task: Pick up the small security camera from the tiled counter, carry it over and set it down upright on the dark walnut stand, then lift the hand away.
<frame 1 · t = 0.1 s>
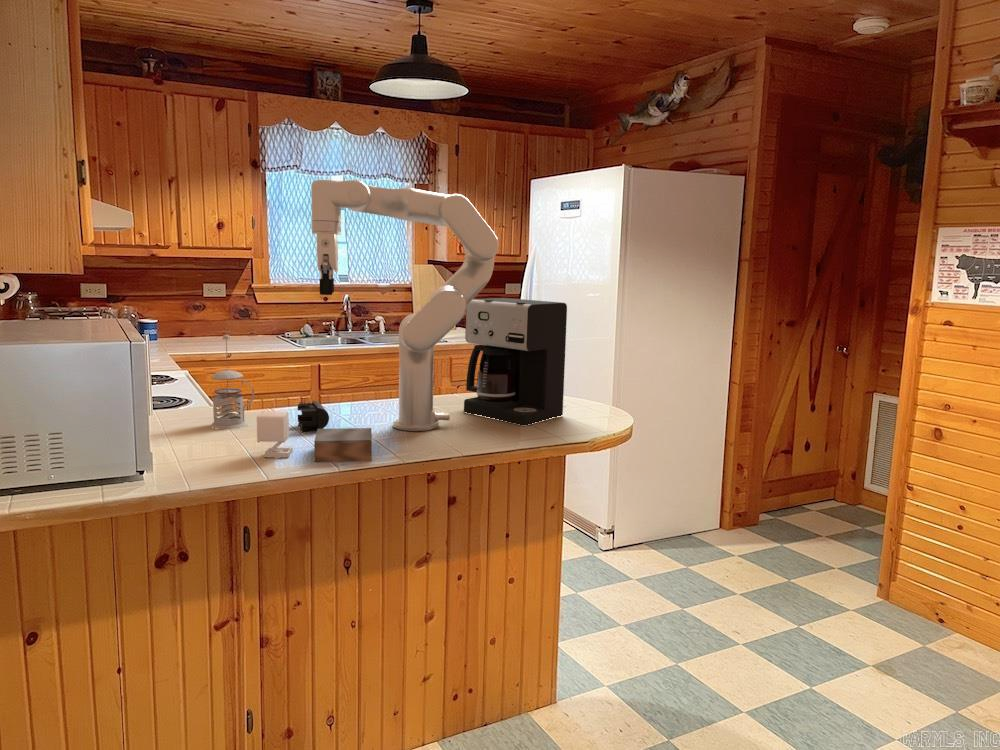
hand: (327, 293, 200), 37 cm above the table, tool pointing down, fingers open, 9 cm apart
security camera: (275, 455, 178), on the table
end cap: (313, 429, 206), on the table
coffee maker: (507, 414, 230), on the table
french press: (232, 425, 207), on the table
walnut stand: (344, 454, 180), on the table
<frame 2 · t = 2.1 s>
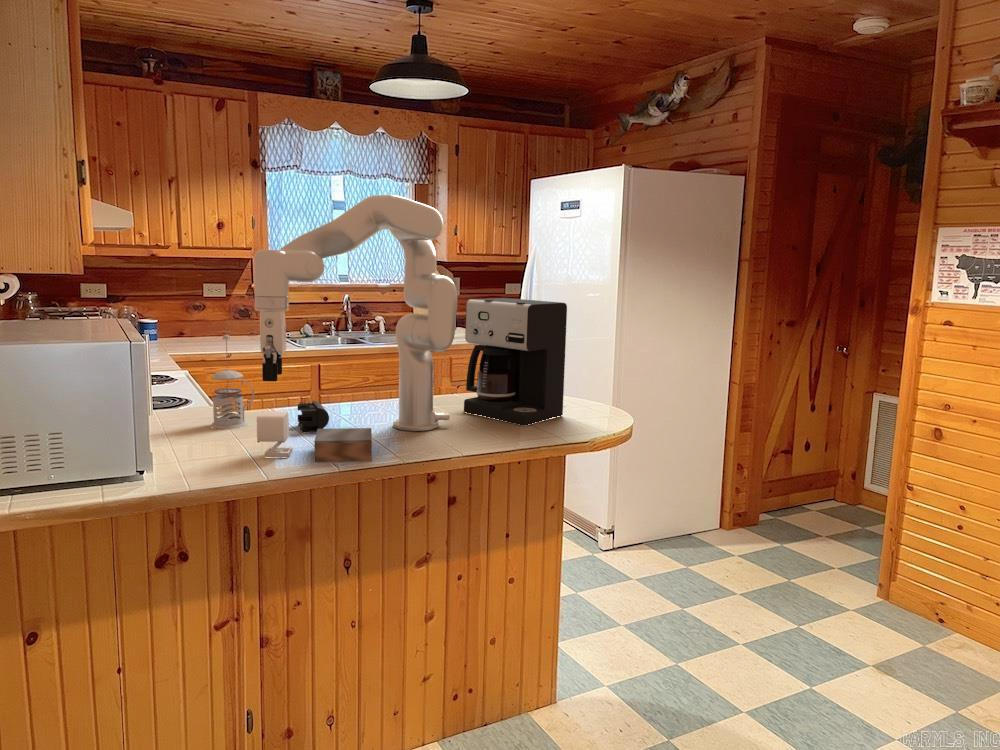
hand: (272, 377, 175), 19 cm above the table, tool pointing down, fingers open, 9 cm apart
nothing on the table moved.
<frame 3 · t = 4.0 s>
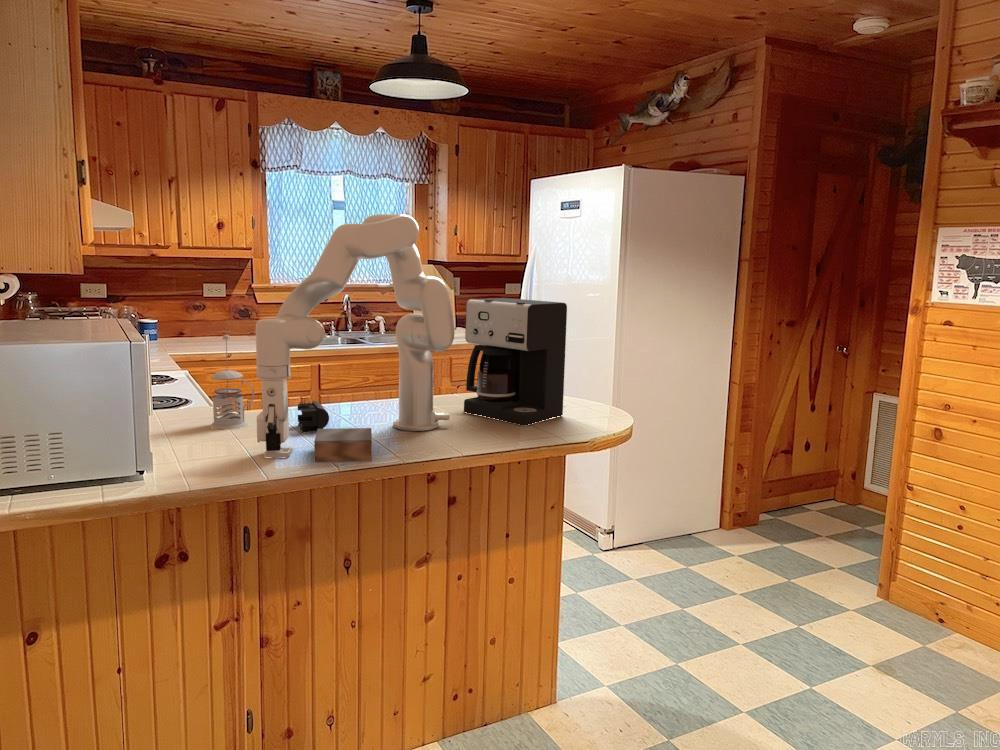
hand: (275, 445, 178), 2 cm above the table, tool pointing down, fingers closed on security camera, 6 cm apart
security camera: (275, 455, 178), on the table, touching gripper
everything else where it was.
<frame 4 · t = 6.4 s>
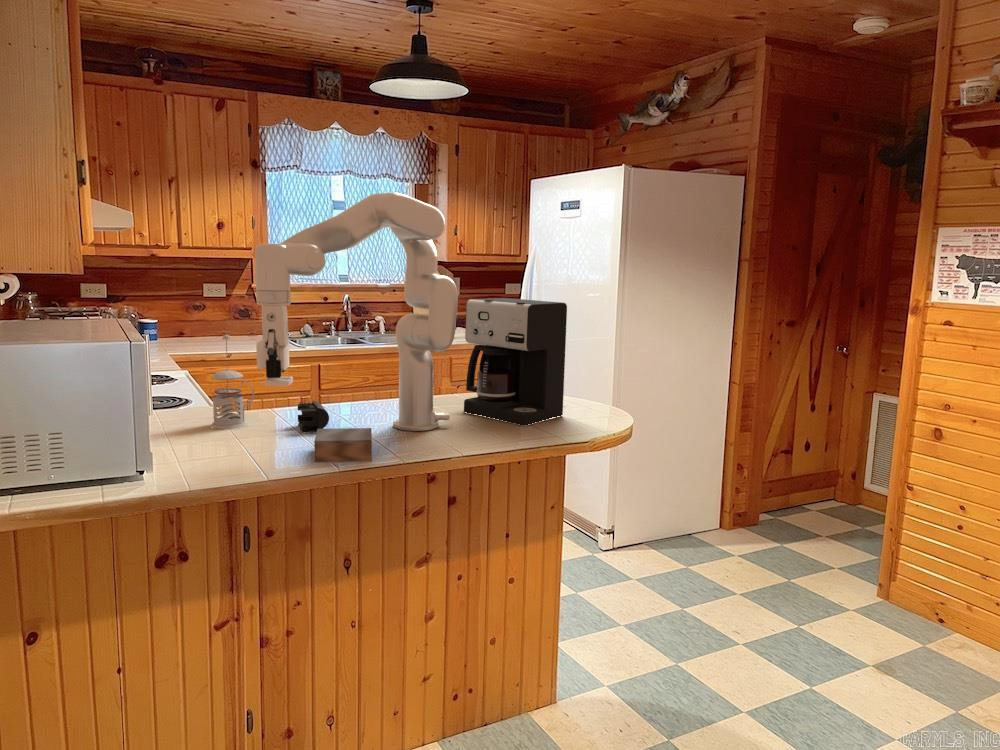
hand: (275, 374, 175), 19 cm above the table, tool pointing down, fingers closed on security camera, 6 cm apart
security camera: (275, 384, 176), point 17 cm above the table, touching gripper
everything else where it was.
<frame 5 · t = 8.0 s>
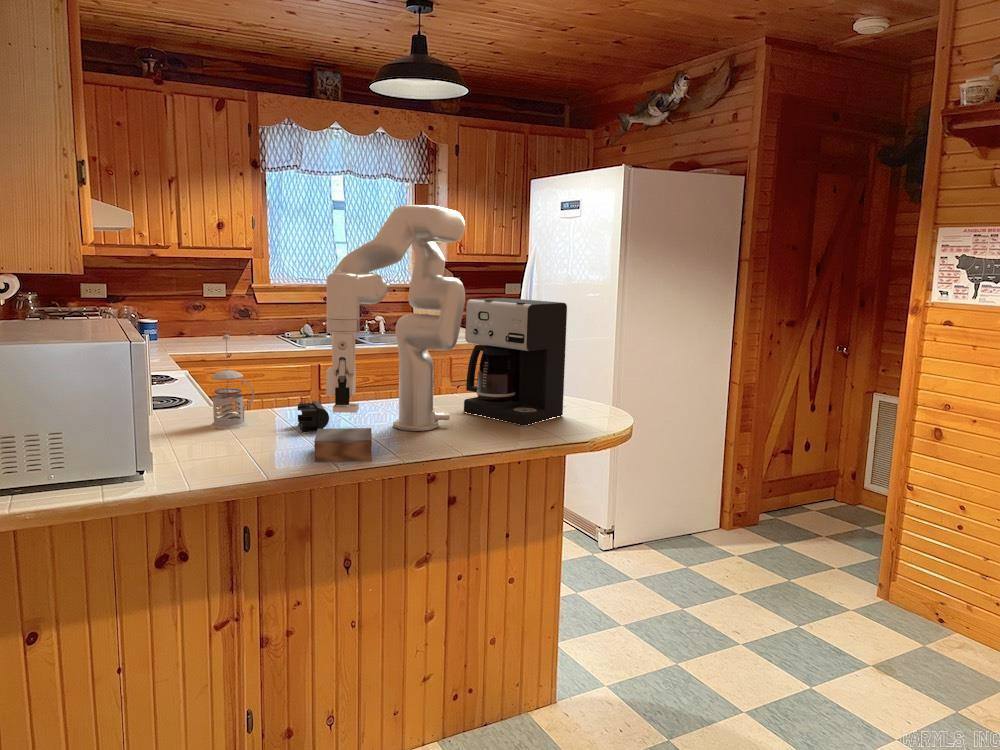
hand: (342, 401, 178), 13 cm above the table, tool pointing down, fingers closed on security camera, 6 cm apart
security camera: (342, 411, 178), point 11 cm above the table, touching gripper
everything else where it was.
when the fingers open (9 cm above the table, at t = 9.2 s): security camera drops 1 cm, resting on walnut stand.
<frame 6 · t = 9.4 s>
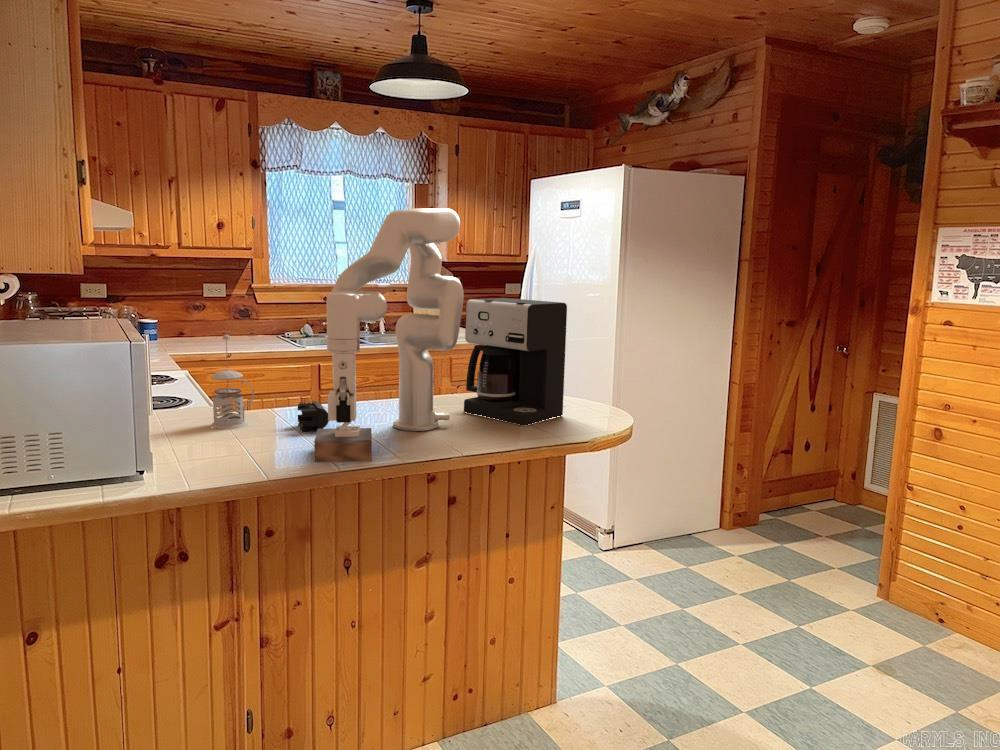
hand: (343, 417, 179), 9 cm above the table, tool pointing down, fingers open, 8 cm apart
security camera: (344, 434, 180), point 5 cm above the table, touching walnut stand
everything else where it was.
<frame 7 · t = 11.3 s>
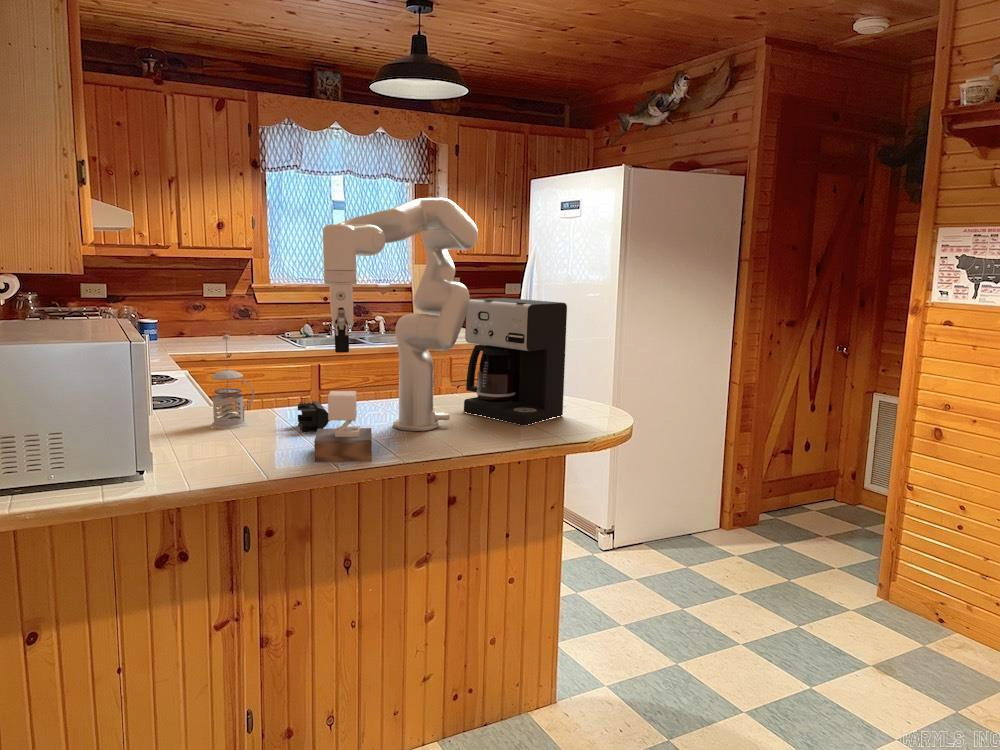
hand: (342, 349, 181), 25 cm above the table, tool pointing down, fingers open, 9 cm apart
nothing on the table moved.
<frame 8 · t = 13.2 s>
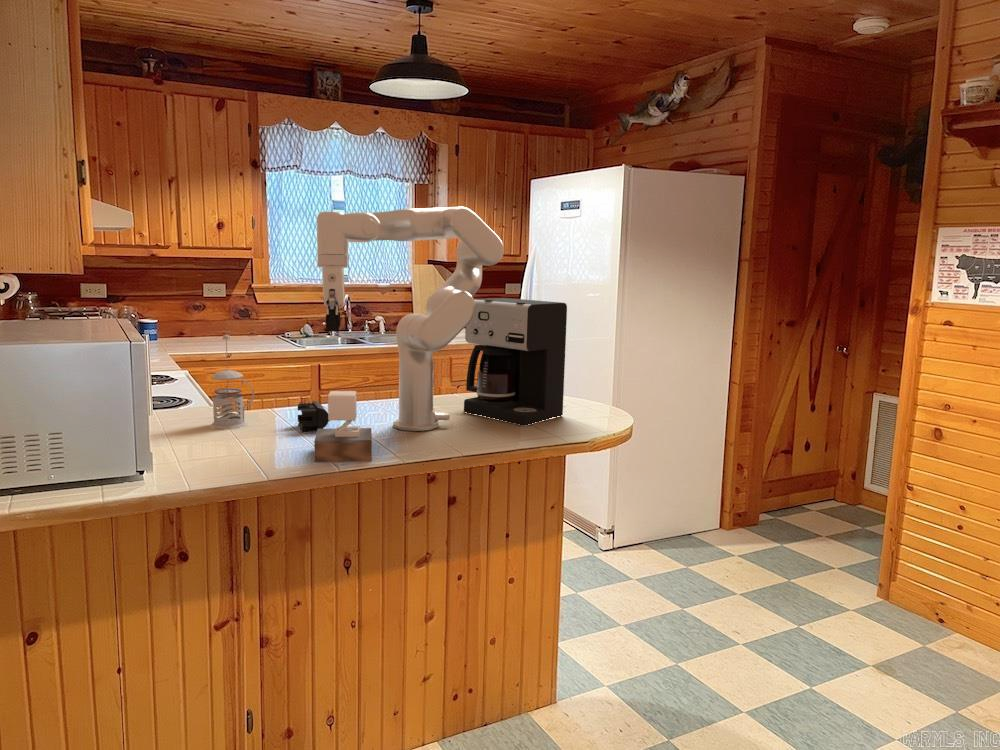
hand: (333, 329, 193), 28 cm above the table, tool pointing down, fingers open, 9 cm apart
nothing on the table moved.
at the end: security camera inside the target area on the walnut stand (0.2 cm from its centre), point 4.8 cm above the walnut stand's base; security camera tilted 0°; security camera touching walnut stand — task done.
